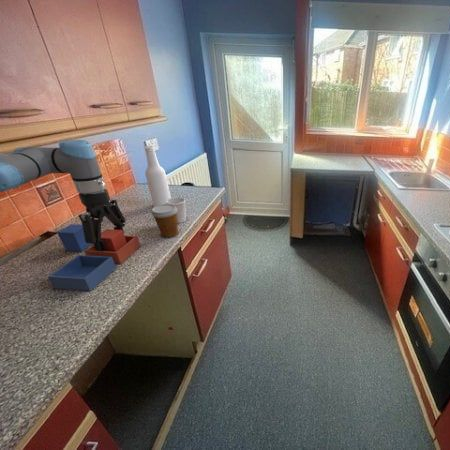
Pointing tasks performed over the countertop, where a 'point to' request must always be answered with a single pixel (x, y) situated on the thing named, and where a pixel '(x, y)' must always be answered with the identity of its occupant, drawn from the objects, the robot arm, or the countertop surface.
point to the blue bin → (82, 272)
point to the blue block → (73, 238)
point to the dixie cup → (178, 207)
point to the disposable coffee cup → (166, 219)
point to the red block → (113, 239)
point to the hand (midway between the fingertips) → (114, 249)
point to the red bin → (121, 253)
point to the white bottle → (156, 178)
